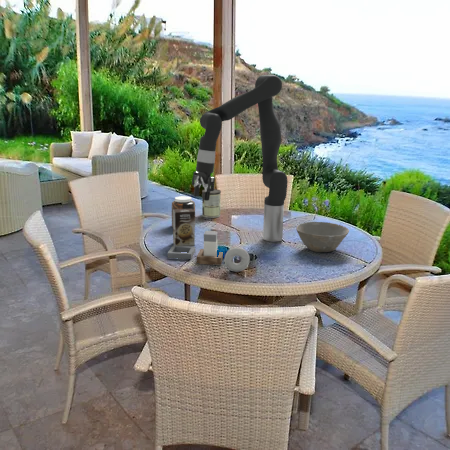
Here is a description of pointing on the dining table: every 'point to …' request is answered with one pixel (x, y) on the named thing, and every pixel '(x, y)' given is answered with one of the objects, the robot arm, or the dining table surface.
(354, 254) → the dining table surface
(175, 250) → the grey square frame
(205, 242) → the plug block
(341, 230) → the ceramic bowl
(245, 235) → the dining table surface
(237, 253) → the donut
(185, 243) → the coffee box
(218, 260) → the walnut socket
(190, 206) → the jar
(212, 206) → the coffee can
